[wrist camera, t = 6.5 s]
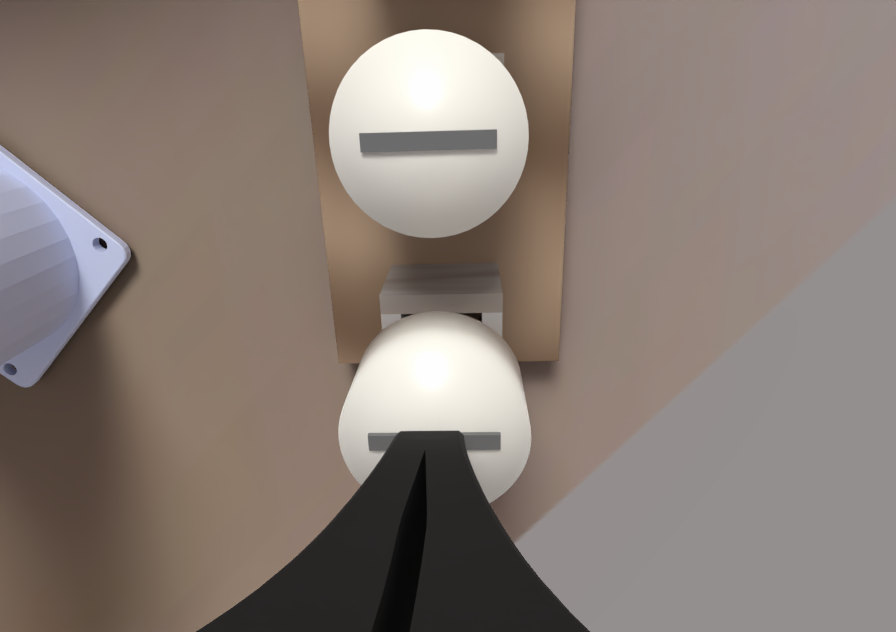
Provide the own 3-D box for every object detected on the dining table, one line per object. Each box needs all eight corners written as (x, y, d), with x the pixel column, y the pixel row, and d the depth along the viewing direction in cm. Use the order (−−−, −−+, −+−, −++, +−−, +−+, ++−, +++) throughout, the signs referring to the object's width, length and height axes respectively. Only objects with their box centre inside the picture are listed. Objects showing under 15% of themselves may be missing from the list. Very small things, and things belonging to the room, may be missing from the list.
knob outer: (379, 401, 19) (346, 519, 14) (368, 275, 17) (327, 356, 12) (513, 400, 19) (529, 519, 14) (514, 272, 17) (534, 354, 12)
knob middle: (373, 196, 19) (338, 241, 14) (362, 46, 17) (316, 32, 12) (510, 193, 18) (527, 237, 13) (512, 40, 17) (532, 25, 12)
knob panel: (290, -188, 16) (229, -279, 12) (576, -203, 16) (614, -301, 12) (346, 346, 23) (319, 406, 18) (552, 343, 22) (572, 404, 18)
